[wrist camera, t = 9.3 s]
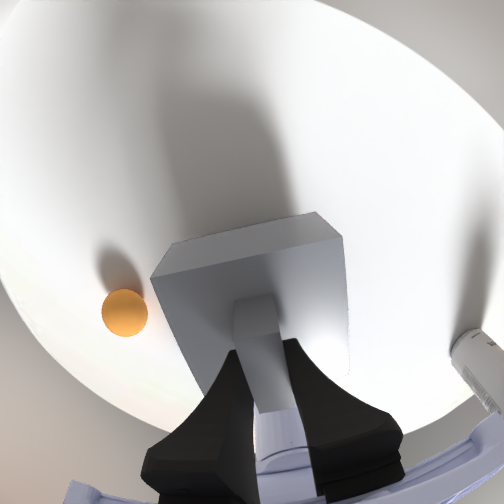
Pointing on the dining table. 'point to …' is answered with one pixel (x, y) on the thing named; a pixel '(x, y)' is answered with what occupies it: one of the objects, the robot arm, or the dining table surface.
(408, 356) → the dining table surface
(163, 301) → the grey stepped block
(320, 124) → the dining table surface
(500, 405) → the energy drink can
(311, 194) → the dining table surface
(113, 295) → the ball
